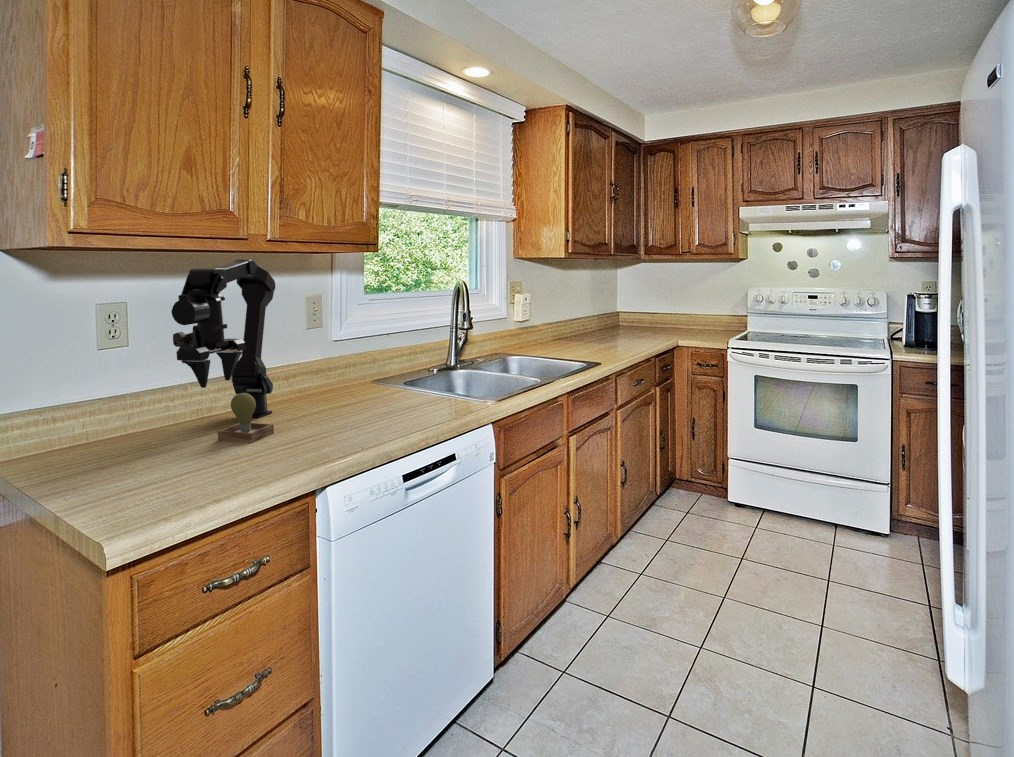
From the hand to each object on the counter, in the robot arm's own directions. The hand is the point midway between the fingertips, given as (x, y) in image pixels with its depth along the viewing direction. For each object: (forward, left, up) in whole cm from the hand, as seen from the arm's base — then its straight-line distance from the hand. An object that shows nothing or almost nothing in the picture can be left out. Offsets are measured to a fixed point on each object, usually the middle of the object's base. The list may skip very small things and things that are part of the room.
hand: (215, 383), depth 157 cm
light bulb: (+3, +9, -12) cm, 15 cm away
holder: (+3, +10, -12) cm, 16 cm away
